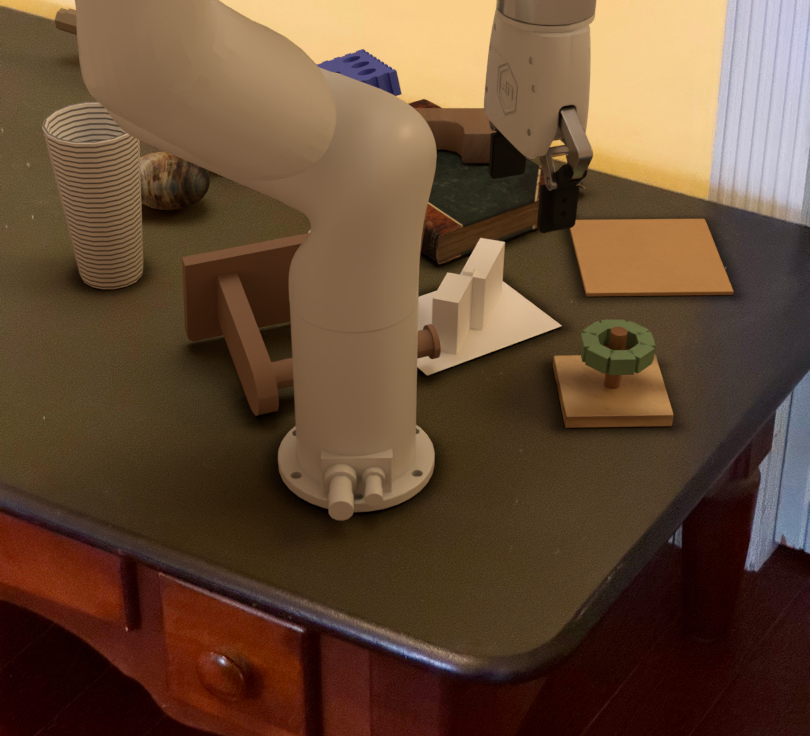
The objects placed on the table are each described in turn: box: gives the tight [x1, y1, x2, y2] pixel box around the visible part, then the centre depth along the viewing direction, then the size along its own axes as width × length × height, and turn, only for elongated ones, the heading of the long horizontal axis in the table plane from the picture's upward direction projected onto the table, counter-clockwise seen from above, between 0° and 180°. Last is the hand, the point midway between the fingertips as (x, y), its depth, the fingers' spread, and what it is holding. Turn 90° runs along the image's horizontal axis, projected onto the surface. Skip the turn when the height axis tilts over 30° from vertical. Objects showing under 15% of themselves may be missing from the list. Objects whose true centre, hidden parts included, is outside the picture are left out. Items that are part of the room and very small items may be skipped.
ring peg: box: [552, 327, 674, 429], centre depth 122 cm, size 9×9×7 cm
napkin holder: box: [417, 238, 563, 376], centre depth 131 cm, size 15×11×6 cm
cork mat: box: [568, 218, 734, 297], centre depth 142 cm, size 14×14×1 cm
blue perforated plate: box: [316, 48, 402, 97], centre depth 157 cm, size 25×24×3 cm
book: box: [408, 98, 545, 265], centre depth 150 cm, size 17×4×25 cm
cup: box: [41, 101, 144, 290], centre depth 133 cm, size 8×8×16 cm
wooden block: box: [414, 107, 496, 163], centre depth 149 cm, size 7×3×15 cm
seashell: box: [140, 150, 211, 211], centre depth 146 cm, size 10×6×8 cm
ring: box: [578, 319, 657, 375], centre depth 121 cm, size 6×6×2 cm
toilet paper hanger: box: [181, 218, 441, 417], centre depth 124 cm, size 22×13×10 cm, turn 111°
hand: (530, 201), depth 120 cm, fingers open, 9 cm apart
